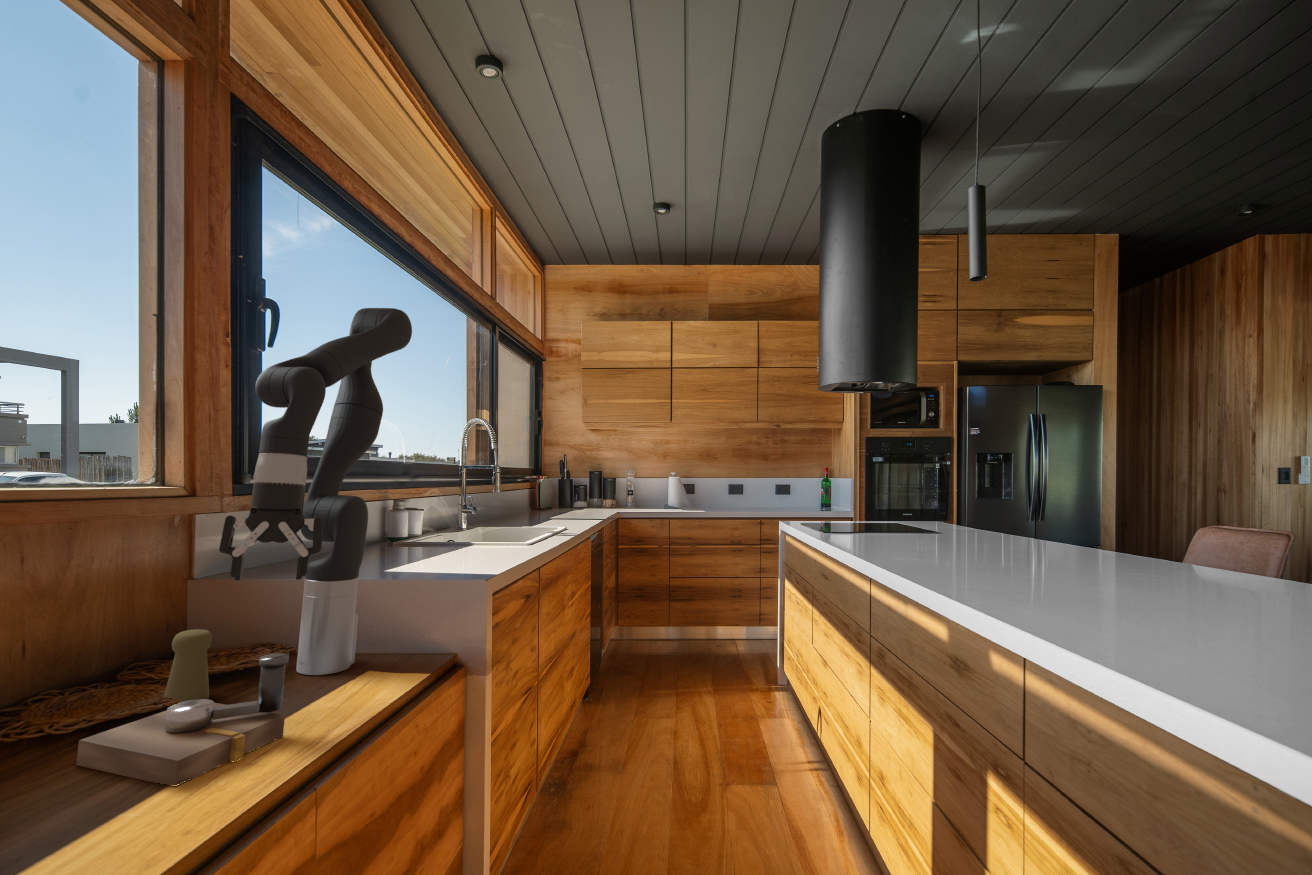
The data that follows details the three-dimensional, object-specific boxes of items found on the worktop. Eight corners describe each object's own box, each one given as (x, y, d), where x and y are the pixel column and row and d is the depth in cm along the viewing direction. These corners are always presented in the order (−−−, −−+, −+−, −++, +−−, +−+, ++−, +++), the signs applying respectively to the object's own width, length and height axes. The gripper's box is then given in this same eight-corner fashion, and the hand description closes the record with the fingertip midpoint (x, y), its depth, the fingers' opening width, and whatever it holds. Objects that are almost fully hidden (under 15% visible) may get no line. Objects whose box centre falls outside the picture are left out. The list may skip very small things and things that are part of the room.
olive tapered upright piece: (183, 709, 93) (190, 636, 93) (151, 704, 94) (159, 633, 95) (218, 695, 98) (225, 628, 99) (188, 691, 100) (196, 624, 101)
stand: (195, 720, 89) (197, 698, 89) (287, 737, 84) (289, 714, 85) (76, 764, 74) (79, 738, 74) (179, 788, 70) (182, 759, 70)
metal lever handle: (163, 734, 76) (170, 673, 77) (166, 721, 80) (173, 662, 81) (285, 715, 84) (290, 659, 84) (282, 704, 88) (287, 650, 89)
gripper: (329, 485, 107) (319, 577, 105) (234, 481, 101) (221, 578, 99) (326, 483, 101) (316, 581, 98) (224, 478, 95) (211, 582, 92)
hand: (268, 579), depth 99 cm, fingers open, 8 cm apart
